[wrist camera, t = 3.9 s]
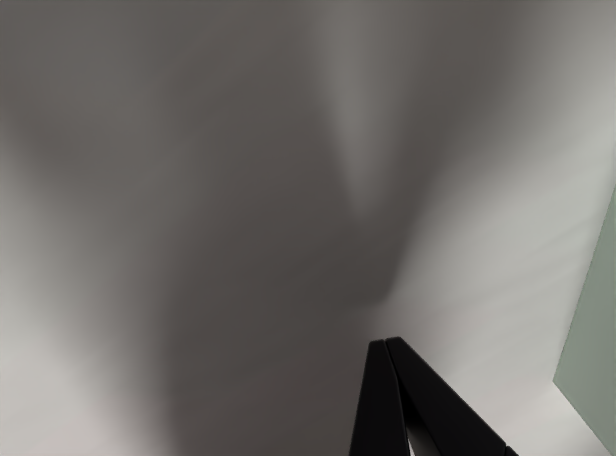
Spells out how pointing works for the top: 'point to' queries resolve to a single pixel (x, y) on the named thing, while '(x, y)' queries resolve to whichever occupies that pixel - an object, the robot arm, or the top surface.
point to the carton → (594, 342)
